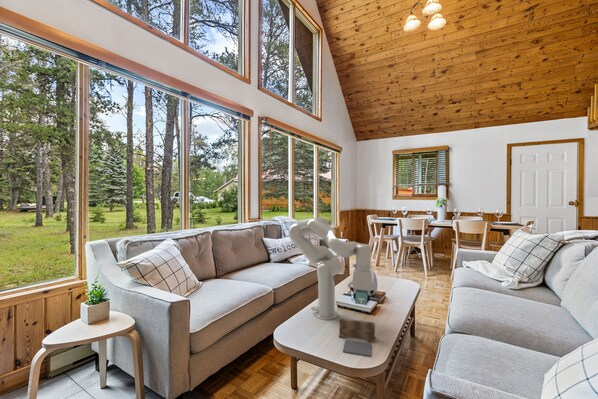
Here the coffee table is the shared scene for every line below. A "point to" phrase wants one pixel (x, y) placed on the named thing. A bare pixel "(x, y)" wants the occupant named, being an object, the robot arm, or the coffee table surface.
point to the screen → (357, 329)
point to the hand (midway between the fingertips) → (361, 300)
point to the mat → (357, 348)
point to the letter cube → (361, 297)
